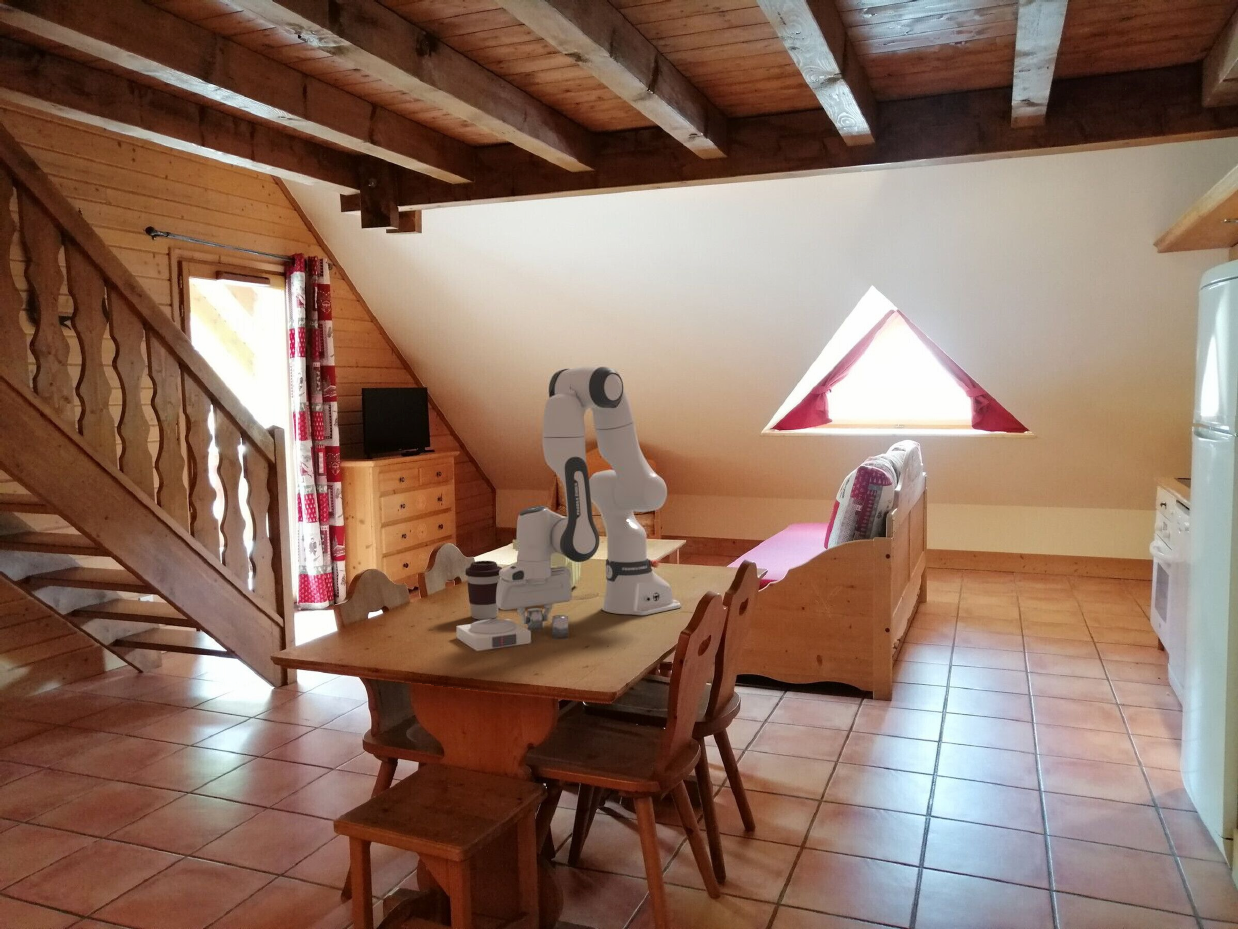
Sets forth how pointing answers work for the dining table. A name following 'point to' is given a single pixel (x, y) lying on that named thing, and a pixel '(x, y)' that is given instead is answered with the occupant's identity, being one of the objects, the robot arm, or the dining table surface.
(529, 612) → the cylinder
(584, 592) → the dining table surface
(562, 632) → the cylinder
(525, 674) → the dining table surface
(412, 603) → the dining table surface
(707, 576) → the dining table surface
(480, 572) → the coffee cup
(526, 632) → the scale
